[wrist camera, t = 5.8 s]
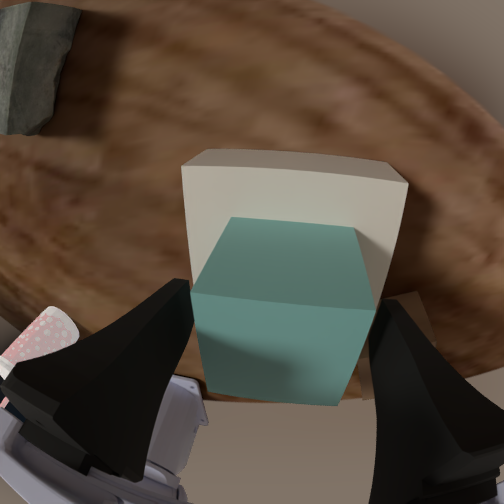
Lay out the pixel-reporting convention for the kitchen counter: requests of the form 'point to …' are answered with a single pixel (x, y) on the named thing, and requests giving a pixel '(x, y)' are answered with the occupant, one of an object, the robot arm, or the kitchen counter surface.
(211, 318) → the teal cube
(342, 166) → the ceramic base
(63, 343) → the beverage cup
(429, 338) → the walnut cube
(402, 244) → the kitchen counter surface
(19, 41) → the stone block
